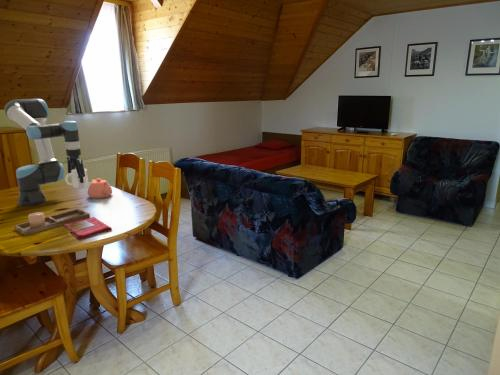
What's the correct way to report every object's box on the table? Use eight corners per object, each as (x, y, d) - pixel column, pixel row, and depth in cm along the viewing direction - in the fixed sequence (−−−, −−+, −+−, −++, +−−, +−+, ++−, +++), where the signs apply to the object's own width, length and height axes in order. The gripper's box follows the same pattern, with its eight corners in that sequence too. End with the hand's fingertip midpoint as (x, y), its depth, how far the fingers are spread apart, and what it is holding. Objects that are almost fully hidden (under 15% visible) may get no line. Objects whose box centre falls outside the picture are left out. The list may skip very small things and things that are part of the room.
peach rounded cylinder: (28, 227, 187) (25, 214, 185) (42, 223, 192) (40, 211, 190) (33, 230, 183) (31, 217, 181) (48, 226, 188) (46, 214, 186)
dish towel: (78, 241, 175) (78, 236, 174) (62, 227, 191) (61, 222, 190) (113, 231, 186) (112, 226, 185) (95, 219, 202) (94, 214, 202)
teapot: (119, 197, 239) (117, 179, 236) (97, 202, 229) (94, 184, 226) (104, 191, 254) (102, 174, 251) (82, 195, 244) (80, 178, 240)
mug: (67, 190, 207) (64, 173, 204) (65, 186, 214) (63, 169, 211) (89, 187, 213) (87, 170, 210) (87, 184, 220) (85, 167, 217)
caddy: (15, 230, 185) (14, 225, 185) (78, 213, 210) (77, 208, 209) (25, 237, 178) (24, 231, 177) (90, 218, 202) (89, 213, 201)
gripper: (57, 147, 210) (63, 184, 216) (75, 151, 197) (80, 191, 204) (70, 145, 216) (75, 182, 222) (88, 149, 203) (93, 188, 209)
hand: (78, 186), depth 213 cm, fingers closed on mug, 8 cm apart
